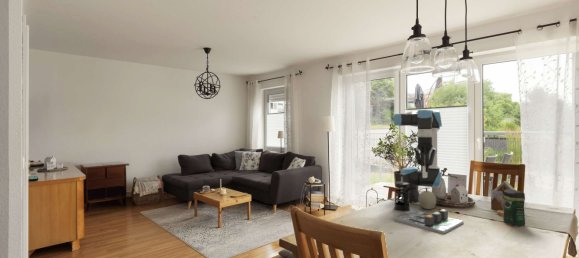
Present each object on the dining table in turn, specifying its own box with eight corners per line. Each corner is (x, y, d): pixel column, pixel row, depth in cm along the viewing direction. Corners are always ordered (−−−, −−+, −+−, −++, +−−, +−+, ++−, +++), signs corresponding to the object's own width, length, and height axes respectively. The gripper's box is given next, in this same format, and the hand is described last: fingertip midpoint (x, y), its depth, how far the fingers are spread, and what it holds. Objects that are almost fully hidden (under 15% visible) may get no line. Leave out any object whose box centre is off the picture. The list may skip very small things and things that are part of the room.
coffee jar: (528, 226, 159) (528, 191, 158) (513, 227, 158) (513, 192, 158) (514, 220, 168) (514, 187, 168) (500, 221, 168) (500, 188, 168)
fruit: (422, 205, 202) (422, 183, 201) (439, 209, 192) (439, 186, 192) (413, 208, 196) (413, 185, 195) (430, 212, 186) (430, 188, 186)
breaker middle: (435, 219, 167) (435, 211, 167) (441, 220, 164) (441, 212, 164) (432, 221, 164) (432, 213, 164) (437, 222, 162) (437, 214, 161)
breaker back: (442, 216, 172) (442, 208, 172) (447, 217, 169) (447, 209, 169) (438, 218, 169) (438, 210, 169) (444, 219, 167) (444, 211, 167)
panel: (414, 212, 186) (414, 209, 186) (463, 223, 165) (463, 220, 165) (393, 220, 171) (393, 217, 171) (443, 234, 150) (443, 230, 150)
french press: (391, 206, 199) (391, 172, 199) (405, 206, 199) (405, 172, 199) (398, 211, 187) (398, 175, 187) (413, 211, 188) (413, 175, 187)
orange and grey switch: (428, 222, 162) (428, 214, 162) (434, 223, 160) (433, 215, 159) (424, 224, 159) (424, 215, 159) (430, 225, 157) (430, 217, 157)
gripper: (410, 136, 174) (410, 176, 174) (433, 137, 163) (433, 180, 164) (417, 135, 178) (417, 174, 179) (439, 136, 168) (439, 178, 169)
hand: (425, 177), depth 172 cm, fingers closed
